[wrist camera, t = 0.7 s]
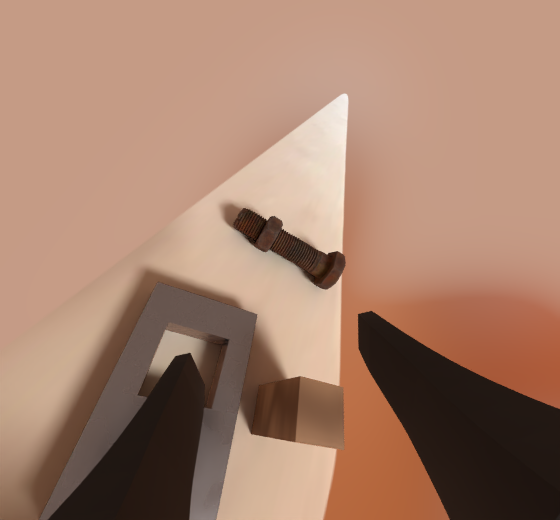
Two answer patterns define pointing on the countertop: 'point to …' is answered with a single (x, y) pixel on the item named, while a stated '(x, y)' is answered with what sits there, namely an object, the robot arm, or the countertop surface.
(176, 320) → the collar plate
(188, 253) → the countertop surface
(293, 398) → the pin
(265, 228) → the bolt
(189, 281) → the countertop surface
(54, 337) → the countertop surface
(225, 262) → the countertop surface
